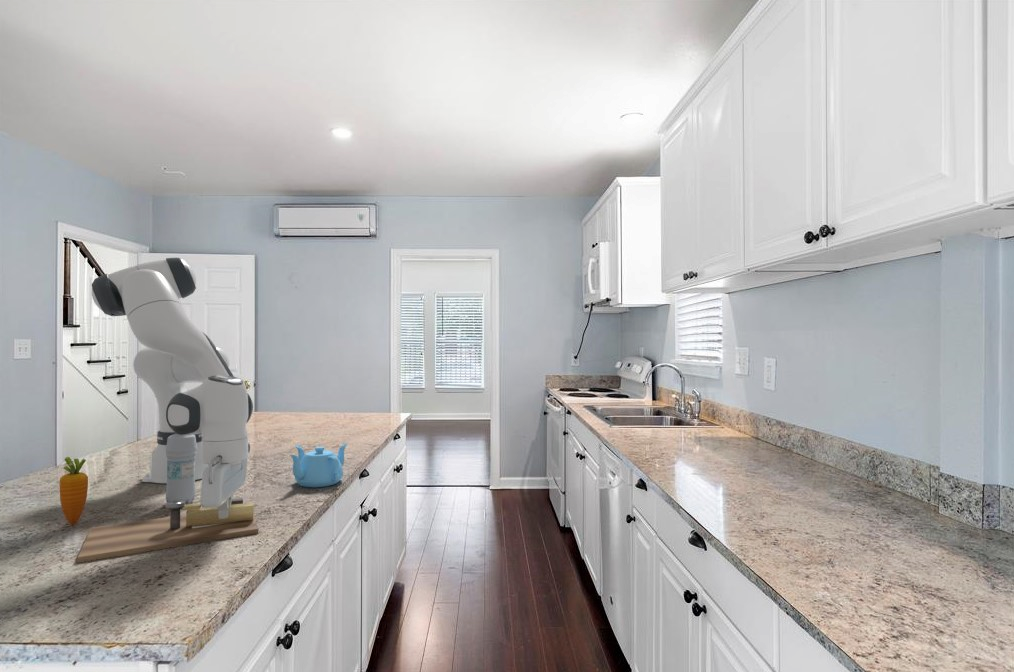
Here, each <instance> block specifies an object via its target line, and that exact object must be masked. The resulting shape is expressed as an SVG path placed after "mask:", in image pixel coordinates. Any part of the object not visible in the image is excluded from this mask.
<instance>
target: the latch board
mask: <svg viewBox="0 0 1014 672" xmlns="http://www.w3.org/2000/svg"><path fill="white" fill-rule="evenodd" d="M233 504H244V499H243V497H238V498H232V502H231V505H233ZM169 512H170V516H166V517H158V518H152V519H144V520H136V521H129V522H124V523H123V522H122V523H116V524H108V525H102V526H94V527H91V528H90V530H89V533H88V534H87V537H86V538H85V541H84V543H83V545H82V547H81V549H80V552H79V553H78V555H77V563H85V561H86V562H91V560H92V561H97V560H96V559H98V560H103V558H104V559H110V558H115V556H116V557H121V556H128V555H134V554H140V553H146V552H151V550H153V551H158V549H159V550H164V548H165V549H169V548H170V547H171V548H177V547H183V546H189V545H188V544H190V545H196V544H200V543H201V542H202V543H206V542H215V541H220V540H225V539H230V538H231V539H232V538H237V537H244V536H250V535H257V534H259V531H260V530H259V529H260V528H259V525H258V524H257V522H256V519H255V518H254V519H252V520H242V521H233V522H223V523H213V524H204V525H194V526H186V514H181V509H178V510H169ZM195 543H196V544H195ZM171 548H170V549H171ZM109 557H110V558H109Z"/></svg>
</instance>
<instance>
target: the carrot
mask: <svg viewBox="0 0 1014 672" xmlns="http://www.w3.org/2000/svg"><path fill="white" fill-rule="evenodd" d="M64 461H65V463H66V464H67V466H63V470H65V471H67V472H69V473H67V474H63V475H62V476H61V477H60V478H59V499H60V500H59V501H60V504H61V508H62V509H61V510H62V513H63V515H64V518H65V520H66V521H67V523H68V524H69V525H70V526H72V527H74V526H76V524H77V523H78V522H79V520H80V519H81V517H82V514H83V512H84V511H85V506H86V502H87V496H88V486H89V476H88V475H87V474H86V473H84V472H83V471H82V472H80V471H81V469H82V467H83V465H84V464H85V463H86V461H87V460H86V459H85V458H82V459H81V461H80V459H79V458H73V460H72V459H71V458H70V456H67V457H65V458H64ZM73 461H74V462H73Z"/></svg>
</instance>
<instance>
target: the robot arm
mask: <svg viewBox="0 0 1014 672" xmlns="http://www.w3.org/2000/svg"><path fill="white" fill-rule="evenodd" d="M196 286H197V277H196V273H195V271H194V269H193V268H192V267H191V265H189V264H188V263H187V262H186V261H185V259H182V258H181V257H167V258H165V259H162V260H161V259H160V260H154V261H153V260H152V261H148V262H143V263H137V264H136V265H133V266H129V267H126V268H123V269H119V270H118V271H117V270H116V271H114V272H111V273H109V274H108V273H105V274H102V275H100V276H98V277H96V278H94V280H93V281H92V283H91V296H92V297H91V298H92V299H93V302H94V304H95V305H96V306H97V307H98V308H99V310H101V312H103V313H104V314H105V315H107V316H110V317H122V316H126V318H127V321H128V324H129V326H130V329H131V331H132V333H133V335H134V336H135V338H136V339H137V341H138V342H139V343H140V344H141V345H143V346H144V348H141V349H140V350H139V351H138V352H137V353H136V355H135V357H134V360H133V366H132V367H133V371H134V373H135V374H136V376H137V377H138V378H139V379H141V380H142V381H143V382H145V384H147V386H149V388H150V390H151V391H152V392H153V394H154V397H155V399H156V402H157V406H158V422H159V423H158V427H159V428H158V431H157V432H156V443H157V446H156V447H155V448H154V449H153V450H152V451H151V452H150V455H149V456H150V457H149V459H150V460H149V461H150V465H149V472H148V473H146V475H144V476H143V477H142V478H141V482H142V483H153V484H154V483H155V484H167V457H166V445H167V439H168V437H169V436H171V435H173V434H175V433H177V434H179V435H195V437H196V444H197V450H196V452H197V453H196V455H195V481H197V480H201V486H200V503H201V507H203V508H211V507H217V508H218V517H219V518H220V519H222V518H227V517H228V516H229V515H230V507H231V502H232V499H233V495H234V494H235V493H236V492H238V490H239V489H240V488H241V487H242V486H243V485H244V484H245V481H246V477H247V469H248V468H247V467H248V458H249V454H250V452H251V443H250V442H249V434H248V429H247V424H248V422H249V420H251V417H252V414H253V412H254V403H253V400H252V398H251V396H250V394H249V393H248V389H247V385H246V383H245V381H244V380H243V379H242V378H239V377H238V376H237V377H236V376H234V373H232V371H231V369H230V359H229V356H228V355H227V352H226V351H225V350H224V349H223V348H220V347H218V346H216V345H215V344H214V342H213V341H212V340H211V338H210V337H209V336H208V335H207V334H206V333H205V332H203V331H202V330H201V329H199V328H198V327H197V326H196V324H195V323H194V322H193V321H192V320H191V319H190V317H189V316H188V314H187V313H186V311H185V309H184V307H183V304H182V303H181V300H180V299H181V298H182V299H185V298H188V297H189V296H191V295H192V294H194V293H195V291H196V289H197V287H196ZM186 383H189V384H190V383H191V384H192V383H193V384H194V383H195V384H196V383H198V384H199V383H200V385H198V386H196V387H194V388H191V389H187V387H186ZM174 432H175V433H174Z"/></svg>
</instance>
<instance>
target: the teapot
mask: <svg viewBox="0 0 1014 672" xmlns="http://www.w3.org/2000/svg"><path fill="white" fill-rule="evenodd" d="M348 444H349V443H348V442H346V443H343V444H342V445H340V447H339V448H338V449H339V450H338V453H337V454H336V453H335V452H334V451H332V450H325V447H324V446H316V447H314V450H313V451H307V452H306V453H305V450H304V449H303V447H302V446H301V445H296V444H295V445H294V446H295V448H296V449H297V453H298V455H296V454H290V453H289V456H290V457H291V458H292V462H293V463H292V474H293V476H294V480H295V481H296V482H297V484H298V485H299V486H301V487H304V488H324V487H328V486H333V485H336V484H338V483H339V482H340V481H341V479H342V478H343V476H344V469H343V466H344V463H345V449H346V446H347V445H348Z"/></svg>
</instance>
